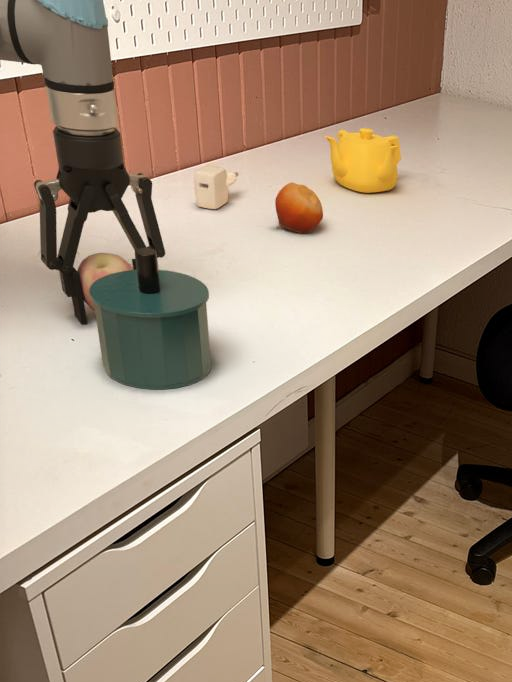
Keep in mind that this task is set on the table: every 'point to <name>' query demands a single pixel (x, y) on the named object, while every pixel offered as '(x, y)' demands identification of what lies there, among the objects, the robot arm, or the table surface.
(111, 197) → the robot arm
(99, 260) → the apple
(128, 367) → the pot
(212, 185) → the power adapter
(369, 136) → the teapot
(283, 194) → the fruit
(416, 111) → the table surface
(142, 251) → the pot lid
